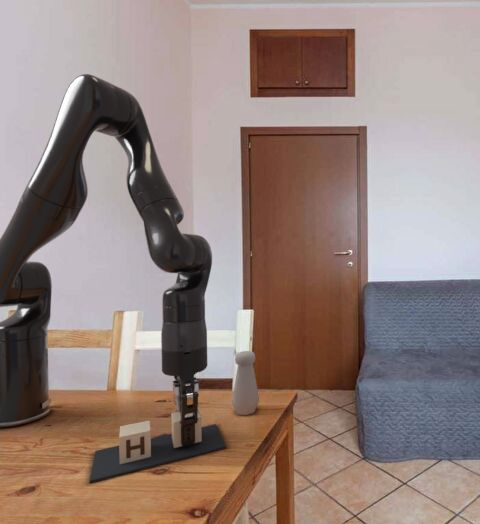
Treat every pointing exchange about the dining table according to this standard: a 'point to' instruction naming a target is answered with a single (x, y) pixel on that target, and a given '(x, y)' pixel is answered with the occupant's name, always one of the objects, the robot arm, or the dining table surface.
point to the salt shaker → (245, 384)
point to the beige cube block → (177, 429)
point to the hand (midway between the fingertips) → (186, 437)
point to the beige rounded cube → (134, 442)
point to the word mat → (154, 454)
